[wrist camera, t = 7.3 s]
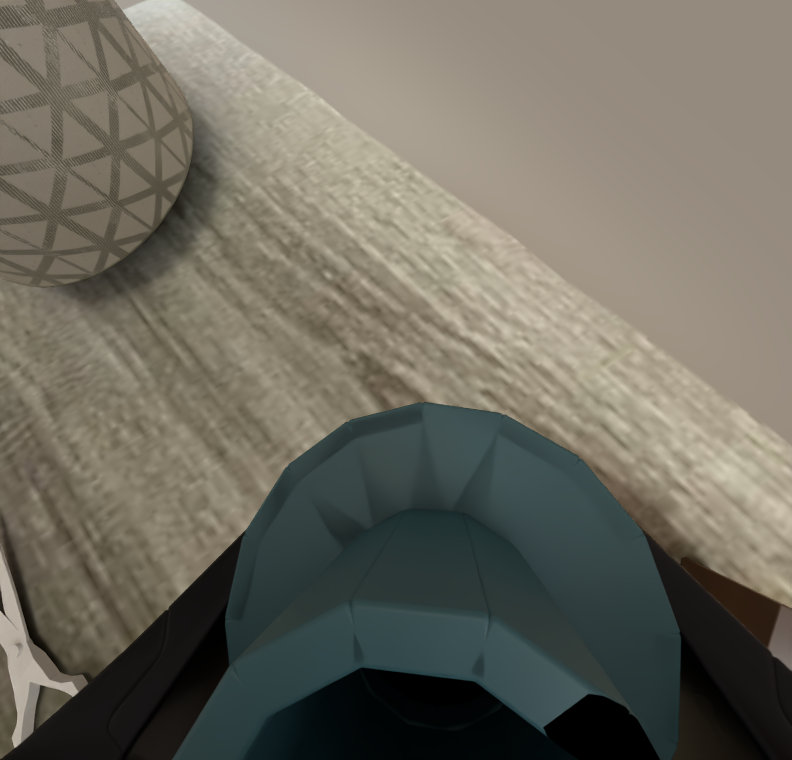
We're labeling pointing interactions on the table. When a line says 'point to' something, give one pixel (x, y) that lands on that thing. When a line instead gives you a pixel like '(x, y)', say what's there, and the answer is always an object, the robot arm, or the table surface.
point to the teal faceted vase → (443, 606)
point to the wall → (750, 609)
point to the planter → (83, 140)
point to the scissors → (27, 659)
